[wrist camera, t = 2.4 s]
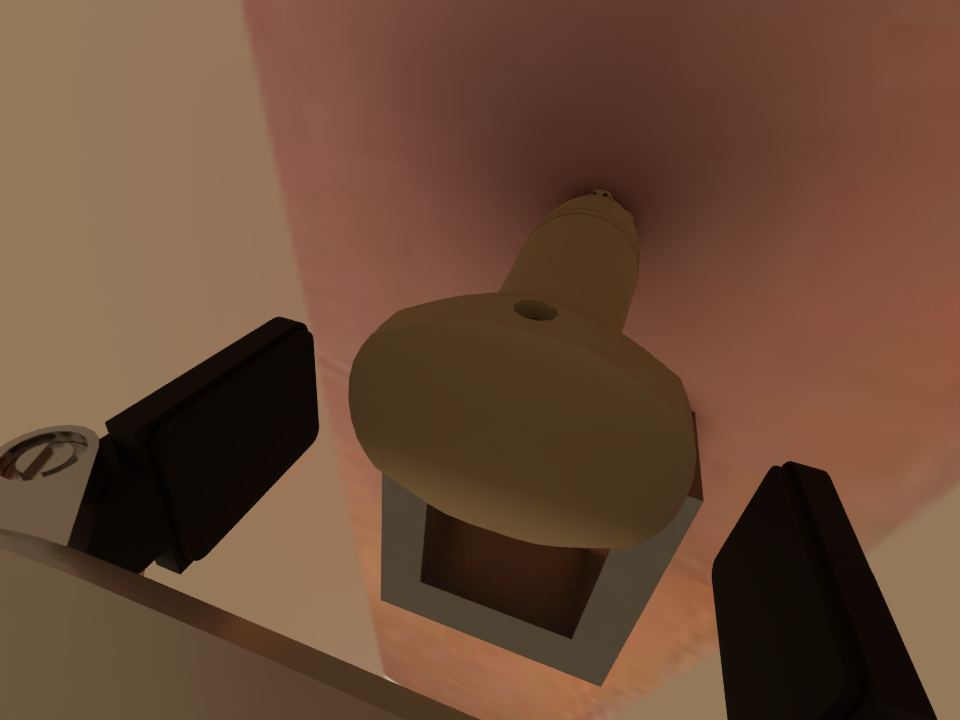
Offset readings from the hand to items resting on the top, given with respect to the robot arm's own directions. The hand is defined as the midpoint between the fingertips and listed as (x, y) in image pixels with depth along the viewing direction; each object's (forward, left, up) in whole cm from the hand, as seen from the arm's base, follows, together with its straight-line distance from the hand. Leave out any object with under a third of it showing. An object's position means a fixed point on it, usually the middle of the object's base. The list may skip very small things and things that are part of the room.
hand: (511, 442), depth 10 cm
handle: (-1, 0, -14) cm, 14 cm away
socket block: (+15, 0, -14) cm, 21 cm away
